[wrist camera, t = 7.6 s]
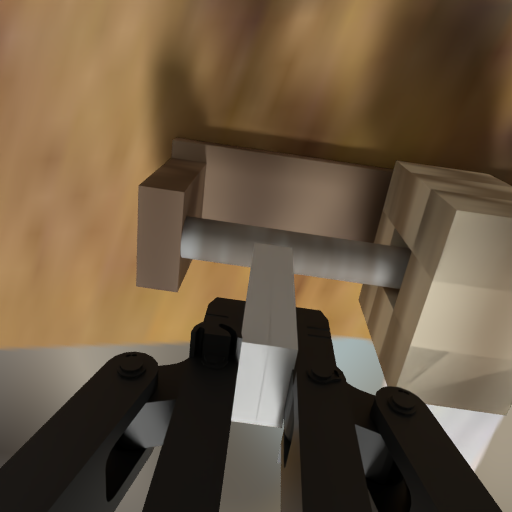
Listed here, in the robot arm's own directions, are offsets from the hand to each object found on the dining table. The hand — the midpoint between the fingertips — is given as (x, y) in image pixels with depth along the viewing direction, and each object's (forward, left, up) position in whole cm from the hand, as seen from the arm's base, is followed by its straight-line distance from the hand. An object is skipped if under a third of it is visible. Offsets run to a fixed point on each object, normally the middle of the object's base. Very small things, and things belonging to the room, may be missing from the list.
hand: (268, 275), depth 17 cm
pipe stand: (0, +5, -10) cm, 11 cm away
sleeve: (0, +9, -8) cm, 12 cm away
